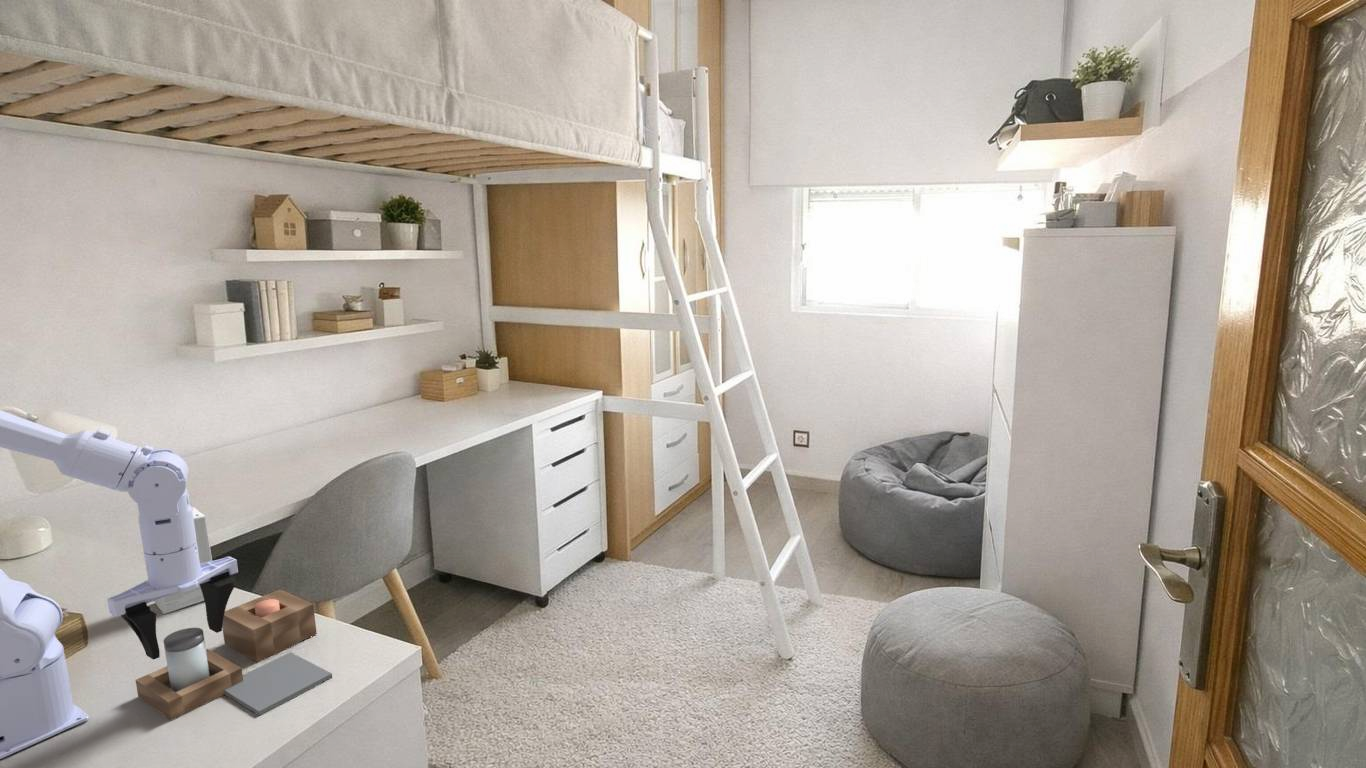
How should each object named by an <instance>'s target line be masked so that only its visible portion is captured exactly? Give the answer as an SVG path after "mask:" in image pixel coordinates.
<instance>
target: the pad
mask: <svg viewBox="0 0 1366 768" xmlns="http://www.w3.org/2000/svg"><path fill="white" fill-rule="evenodd" d="M331 677H332V678H333V673H332V672H330V671H328V670H326V669H324V668H323V667H320V666H318V665H316V664H314V663H312V662H310V661H309V660H307V659H304V658H303V657H301V656H299V655H297V654H295V653H293V652H292V651H291V652H290V651H289V652H288V653H286V654H284V655H282V656H280V657H278V658H275V659H274V660H272V661H269V662H267V663H265V664H263V665H261V666H258V667H256V668H254V669H252V670H250V671H248V672H246V673H244V674H243V681H242V682H240V683H238V684H236V685H234V686H231V687H229V688H227V689H225V690H224V693H225V694H224V695H225V696H227V697H229V698H231V699H232V700H234V701H235V702H237V703H238V704H240V705H242V706H243V707H245V708H246V709H248V710H250V711H252V712H254V714H256V715H258V716H262V715H263V714H265V713H268V712H269V711H272V710H273V709H275V708H276V707H278V706H280V705H283V704H285V703H286V702H288V701H290V700H292V699H294V698H296V697H298V696H300V695H301V694H303V693H305V692H307V691H309V690H311V689H313V688H315V687H317V686H318V685H321V684H323V683H324V682H326V681H328V680H330V679H331ZM329 678H330V679H329ZM327 679H328V680H327ZM323 681H324V682H323ZM322 682H323V683H322ZM320 683H321V684H320Z"/></svg>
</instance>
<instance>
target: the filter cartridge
mask: <svg viewBox="0 0 1366 768" xmlns="http://www.w3.org/2000/svg"><path fill="white" fill-rule="evenodd" d="M163 646H164V652H165V659H166V666H167V667H168V673H169V680H170V686H171V688H170V689H171V690H173V691H174V692H177V691H180V690H182V689H184V688H186V687H188V686H191V685H193V684H195V683H197V682H199V681H201V680H204V679H206V678H208V677H210V675H209V668H208V661H207V654H206V649H207V648H206V642H205V634H204V630H203V629H202V628H199V627H188V628H182V629H178V630H175V631H173V632H171V633H170V634H168V635H166V636H165V637H164V639H163Z"/></svg>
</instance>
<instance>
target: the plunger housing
mask: <svg viewBox="0 0 1366 768" xmlns="http://www.w3.org/2000/svg"><path fill="white" fill-rule="evenodd" d="M269 599H276V600H278V601H279V606H280V610H279V611H276V612H274V613H272V614H269V615H267V616H264V617H262V618H261V617H259V616H257V615H256V614H255V605H256V604H257V603H259V602H261V601H264V600H269ZM315 615H316V614H315V607H314V603H312V602H310V601H308V600H305V599H303V598H300V597H298V596H296V595H294V594H291V593H290V592H287V591H285V590H282V589H278V590H275V591H273V592H272V591H271V592H270V593H267V594H265V595H262V596H260V597H257V598H255V599H252V600H250V601H248V602H245V603H242V604H239V605H237V606H235V607H232V608H229V609H227V610H225V613H224V618H223V625H222V634H223V635H222V636H223V641H224V645H225V646H227V647H229V648H231V649H233V650H234V651H236V652H238V653H240V654H242V655H244V656H245V657H247V658H249V659H250V660H253V661H254V662H257V663H258V662H261V661H263V660H265V659H267V658H269V657H271V656H273V655H276V654H278V653H280V652H282V651H284V650H286V649H288V648H291V647H293V646H295V645H297V644H299V643H301V642H300V641H302V640H304V639H306V640H308V639H310V638H312V637H314V636H316V635H315V634H317V625H316V616H315ZM313 635H314V636H313ZM311 636H312V637H311ZM309 637H310V638H309ZM307 638H308V639H307ZM304 641H305V640H304ZM298 642H299V643H298ZM302 642H303V641H302ZM294 644H295V645H294Z"/></svg>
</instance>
